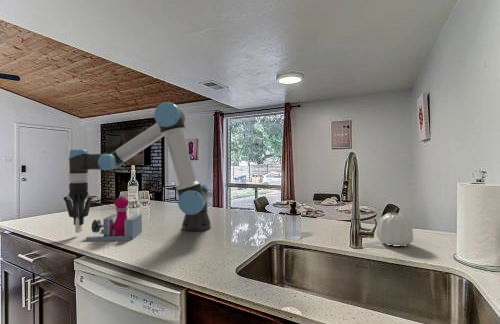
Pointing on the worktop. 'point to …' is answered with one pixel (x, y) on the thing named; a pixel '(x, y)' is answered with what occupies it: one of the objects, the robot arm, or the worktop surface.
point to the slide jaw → (105, 225)
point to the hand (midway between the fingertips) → (78, 231)
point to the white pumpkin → (394, 229)
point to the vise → (131, 230)
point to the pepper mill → (120, 215)
